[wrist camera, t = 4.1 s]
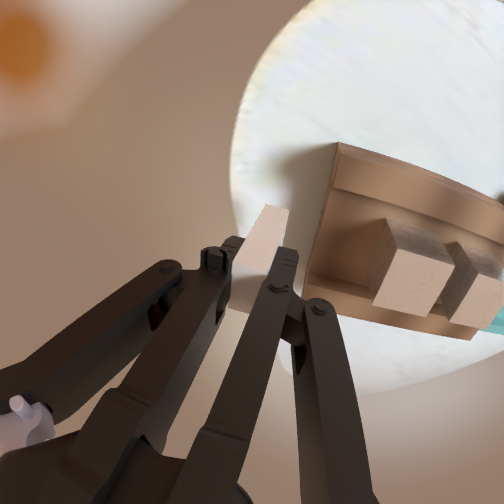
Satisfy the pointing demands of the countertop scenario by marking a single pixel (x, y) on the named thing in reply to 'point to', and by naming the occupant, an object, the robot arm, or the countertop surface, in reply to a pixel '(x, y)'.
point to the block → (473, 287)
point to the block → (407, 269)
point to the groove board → (370, 225)
